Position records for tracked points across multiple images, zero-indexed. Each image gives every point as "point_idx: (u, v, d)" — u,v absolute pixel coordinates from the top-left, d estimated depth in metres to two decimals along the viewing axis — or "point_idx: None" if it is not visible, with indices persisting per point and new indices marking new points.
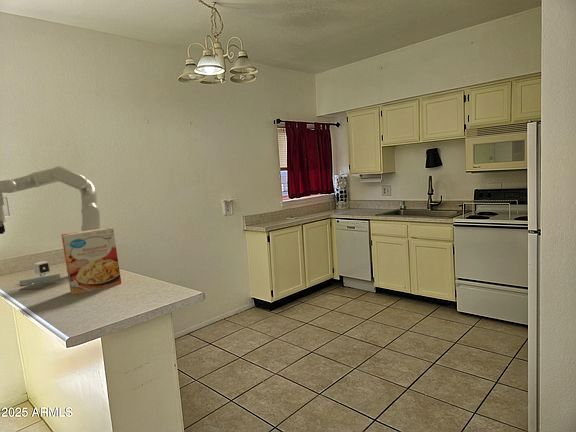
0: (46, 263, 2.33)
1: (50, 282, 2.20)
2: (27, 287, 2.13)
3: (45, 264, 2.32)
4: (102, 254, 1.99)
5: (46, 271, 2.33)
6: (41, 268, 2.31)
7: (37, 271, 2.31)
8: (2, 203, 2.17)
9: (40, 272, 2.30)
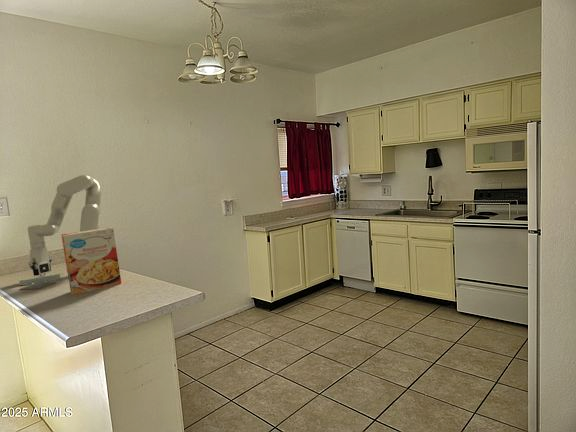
0: (46, 263, 2.33)
1: (50, 282, 2.20)
2: (27, 287, 2.13)
3: (45, 264, 2.32)
4: (102, 254, 1.99)
5: (46, 271, 2.33)
6: (41, 268, 2.31)
7: None
8: None
9: (40, 272, 2.30)
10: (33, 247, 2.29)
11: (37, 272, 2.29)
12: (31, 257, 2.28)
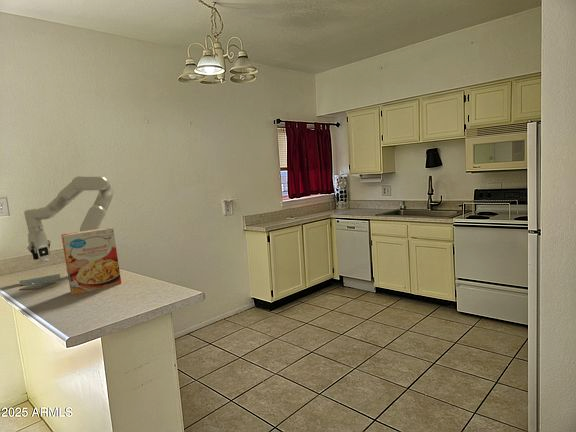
0: (45, 247, 2.32)
1: (50, 282, 2.20)
2: (27, 287, 2.13)
3: (44, 248, 2.32)
4: (102, 254, 1.99)
5: (46, 255, 2.32)
6: (41, 252, 2.30)
7: None
8: None
9: (40, 256, 2.30)
10: (31, 231, 2.28)
11: (37, 256, 2.28)
12: (29, 241, 2.27)
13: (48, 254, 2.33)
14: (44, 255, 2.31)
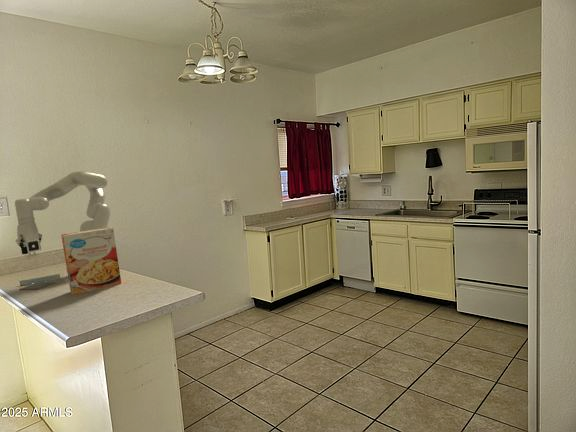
0: (36, 241, 2.13)
1: (50, 282, 2.20)
2: (27, 287, 2.13)
3: (34, 241, 2.12)
4: (102, 254, 1.99)
5: (36, 249, 2.13)
6: (31, 246, 2.11)
7: None
8: None
9: (29, 250, 2.10)
10: (21, 223, 2.08)
11: (26, 250, 2.09)
12: (19, 233, 2.08)
13: (38, 249, 2.14)
14: (34, 250, 2.12)
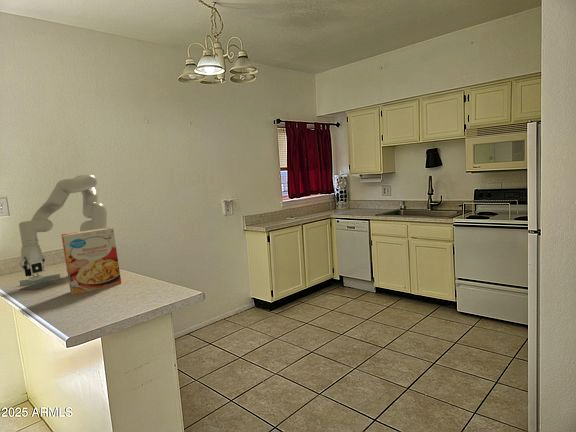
0: (39, 262, 2.14)
1: (50, 282, 2.20)
2: (27, 287, 2.13)
3: (37, 263, 2.13)
4: (102, 254, 1.99)
5: (39, 271, 2.14)
6: (34, 268, 2.12)
7: None
8: None
9: (32, 272, 2.11)
10: (25, 245, 2.10)
11: (29, 272, 2.10)
12: (22, 256, 2.09)
13: (42, 270, 2.15)
14: (37, 271, 2.13)
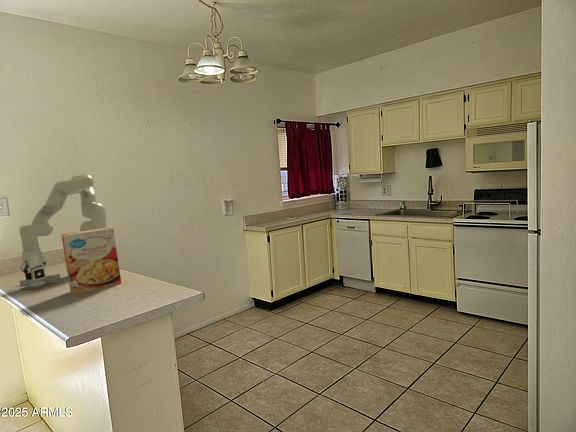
0: (41, 268, 2.15)
1: (50, 282, 2.20)
2: (27, 287, 2.13)
3: (40, 269, 2.14)
4: (102, 254, 1.99)
5: (41, 277, 2.15)
6: (36, 274, 2.13)
7: None
8: None
9: (35, 278, 2.12)
10: (25, 249, 2.10)
11: (30, 276, 2.10)
12: (23, 260, 2.10)
13: (44, 276, 2.16)
14: (39, 277, 2.14)
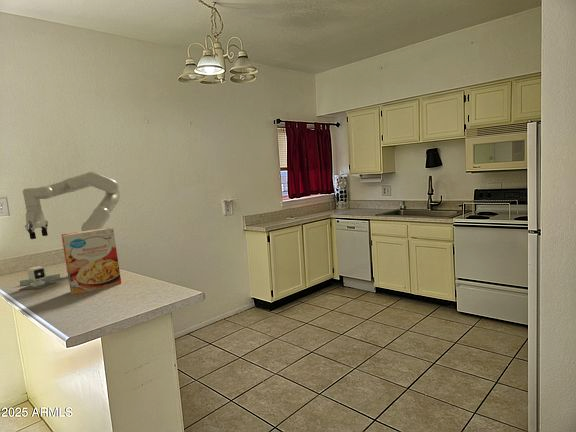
0: (41, 268, 2.15)
1: (50, 282, 2.20)
2: (27, 287, 2.13)
3: (40, 269, 2.14)
4: (102, 254, 1.99)
5: (41, 277, 2.15)
6: (36, 274, 2.13)
7: (32, 277, 2.13)
8: None
9: (35, 278, 2.12)
10: (29, 210, 2.24)
11: (34, 235, 2.24)
12: (27, 220, 2.24)
13: (44, 276, 2.16)
14: (40, 277, 2.14)
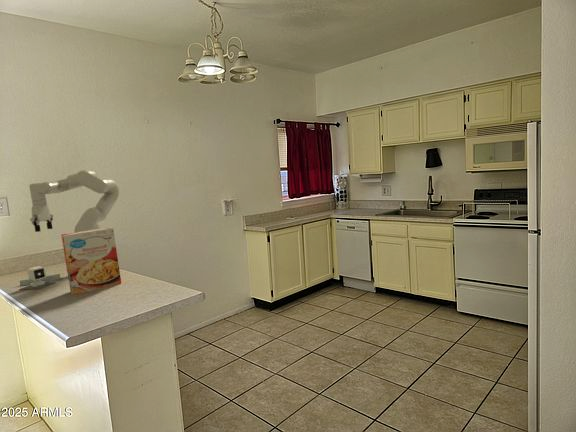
0: (41, 268, 2.15)
1: (50, 282, 2.20)
2: (27, 287, 2.13)
3: (40, 269, 2.14)
4: (102, 254, 1.99)
5: (41, 277, 2.15)
6: (36, 274, 2.13)
7: (32, 277, 2.13)
8: None
9: (35, 278, 2.12)
10: (35, 204, 2.36)
11: (39, 228, 2.36)
12: (33, 213, 2.36)
13: (44, 276, 2.16)
14: (40, 277, 2.14)
